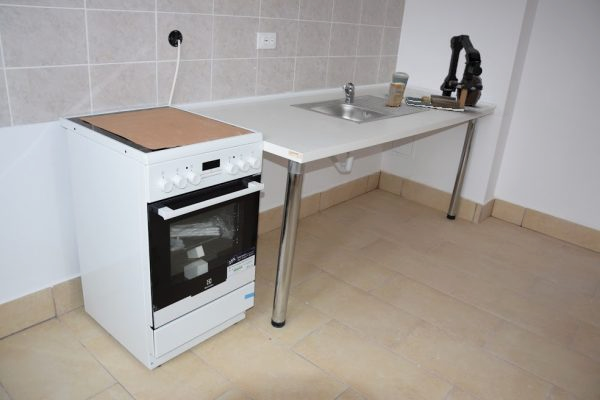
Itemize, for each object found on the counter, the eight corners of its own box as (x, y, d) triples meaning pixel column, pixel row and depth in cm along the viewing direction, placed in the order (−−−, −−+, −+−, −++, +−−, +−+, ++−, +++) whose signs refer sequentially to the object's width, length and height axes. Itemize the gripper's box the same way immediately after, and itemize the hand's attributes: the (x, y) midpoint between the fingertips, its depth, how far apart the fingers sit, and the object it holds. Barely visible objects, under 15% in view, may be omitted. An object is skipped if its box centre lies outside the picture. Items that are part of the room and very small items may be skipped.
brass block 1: (427, 102, 302) (420, 102, 302) (428, 96, 301) (422, 95, 301) (428, 104, 298) (421, 103, 299) (429, 97, 297) (422, 96, 297)
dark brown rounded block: (454, 104, 310) (461, 72, 302) (453, 101, 318) (460, 70, 310) (478, 108, 307) (486, 75, 299) (477, 105, 315) (485, 73, 307)
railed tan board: (429, 103, 305) (431, 94, 303) (453, 106, 304) (455, 97, 302) (432, 108, 291) (434, 99, 289) (458, 111, 291) (460, 102, 288)
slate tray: (405, 100, 305) (406, 96, 304) (431, 103, 304) (432, 99, 303) (407, 105, 292) (408, 101, 291) (434, 108, 292) (435, 104, 291)
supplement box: (392, 107, 283) (396, 84, 278) (386, 105, 287) (390, 82, 281) (401, 106, 288) (405, 83, 283) (395, 104, 292) (399, 82, 286)
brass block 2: (428, 105, 297) (422, 104, 297) (430, 98, 295) (423, 97, 295) (429, 106, 293) (422, 105, 293) (431, 99, 292) (424, 98, 292)
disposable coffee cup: (406, 99, 308) (411, 75, 302) (389, 97, 308) (393, 73, 302) (403, 96, 318) (408, 72, 312) (387, 94, 318) (391, 70, 312)
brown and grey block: (455, 107, 302) (459, 87, 297) (460, 108, 302) (464, 88, 297) (459, 111, 293) (463, 91, 288) (464, 111, 293) (468, 91, 288)
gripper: (455, 73, 282) (449, 100, 288) (488, 77, 281) (481, 104, 287) (451, 70, 292) (445, 96, 298) (483, 74, 291) (476, 100, 297)
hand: (462, 99), depth 295 cm, fingers open, 4 cm apart
